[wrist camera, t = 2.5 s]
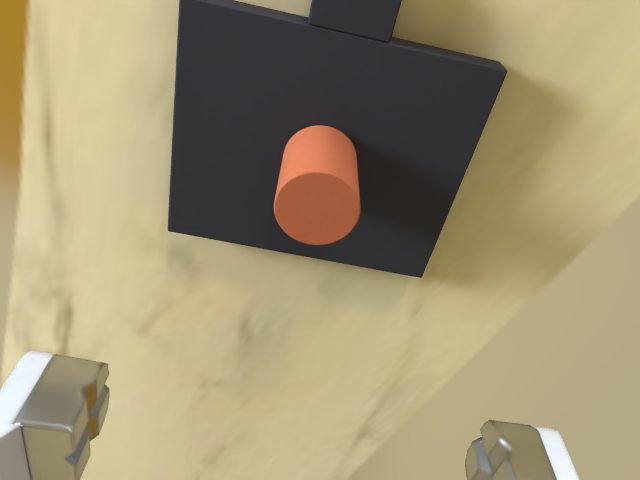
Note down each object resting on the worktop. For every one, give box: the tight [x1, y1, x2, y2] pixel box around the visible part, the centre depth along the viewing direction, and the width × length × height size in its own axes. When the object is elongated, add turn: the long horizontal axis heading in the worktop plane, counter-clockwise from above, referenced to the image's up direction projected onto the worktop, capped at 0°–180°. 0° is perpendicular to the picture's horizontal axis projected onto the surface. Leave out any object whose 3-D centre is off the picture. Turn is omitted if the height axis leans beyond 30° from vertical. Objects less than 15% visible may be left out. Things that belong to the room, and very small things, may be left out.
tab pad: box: [168, 0, 507, 278], centre depth 19 cm, size 12×12×5 cm
